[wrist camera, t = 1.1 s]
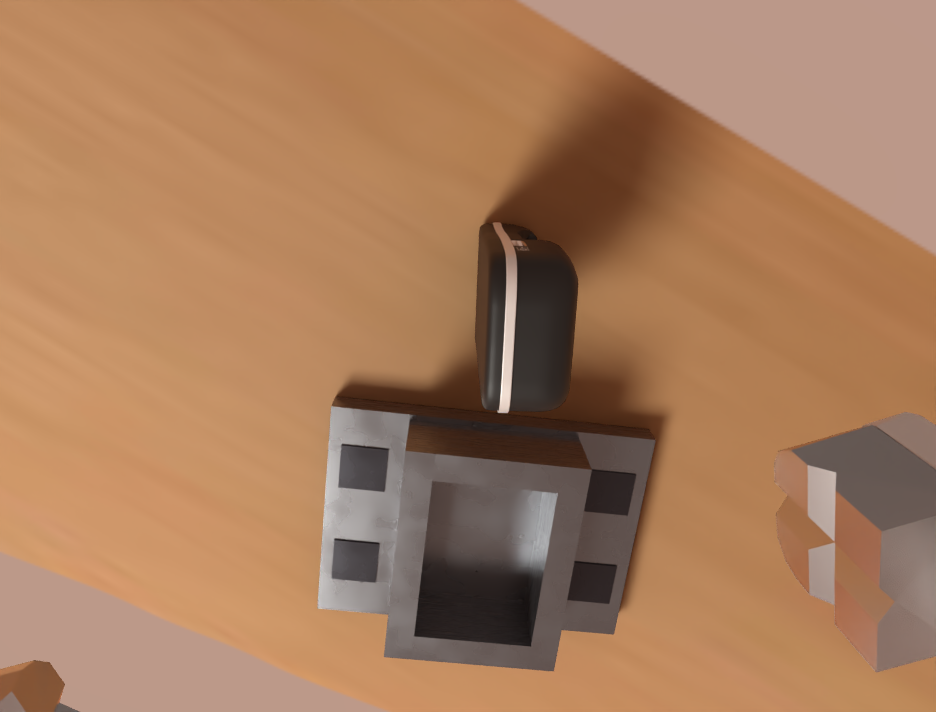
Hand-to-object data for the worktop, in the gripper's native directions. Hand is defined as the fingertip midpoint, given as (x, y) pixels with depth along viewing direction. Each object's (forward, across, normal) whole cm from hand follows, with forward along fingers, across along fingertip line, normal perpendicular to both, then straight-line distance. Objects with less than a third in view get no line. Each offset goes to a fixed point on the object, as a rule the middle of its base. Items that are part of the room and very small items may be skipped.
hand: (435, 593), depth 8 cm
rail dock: (+29, +2, -21) cm, 36 cm away
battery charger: (+31, +6, -8) cm, 32 cm away
